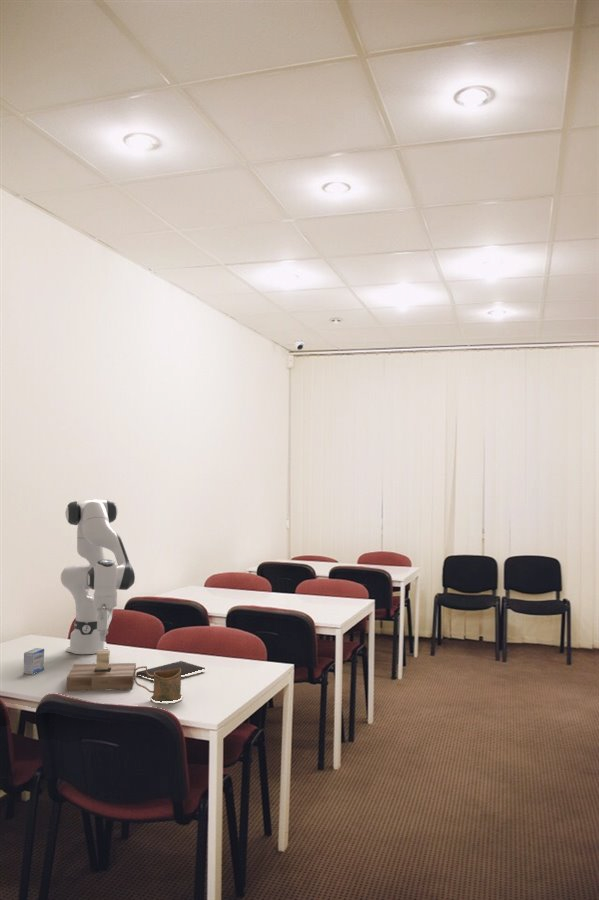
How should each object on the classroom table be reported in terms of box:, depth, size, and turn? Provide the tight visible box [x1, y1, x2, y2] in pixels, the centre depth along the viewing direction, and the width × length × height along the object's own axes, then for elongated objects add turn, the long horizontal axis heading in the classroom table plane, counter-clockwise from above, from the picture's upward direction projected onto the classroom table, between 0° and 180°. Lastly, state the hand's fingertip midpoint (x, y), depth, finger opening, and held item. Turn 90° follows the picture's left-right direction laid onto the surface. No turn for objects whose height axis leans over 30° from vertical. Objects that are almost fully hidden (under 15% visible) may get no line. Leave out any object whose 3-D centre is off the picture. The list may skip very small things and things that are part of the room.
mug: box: [134, 665, 183, 702], centre depth 251 cm, size 12×18×12 cm, turn 103°
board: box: [65, 662, 137, 692], centre depth 269 cm, size 18×24×5 cm
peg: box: [95, 649, 111, 672], centre depth 269 cm, size 4×4×12 cm
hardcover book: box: [135, 660, 206, 679], centre depth 283 cm, size 16×23×2 cm
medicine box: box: [22, 647, 45, 675], centre depth 281 cm, size 8×4×9 cm, turn 168°
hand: (104, 637), depth 269 cm, fingers open, 8 cm apart
